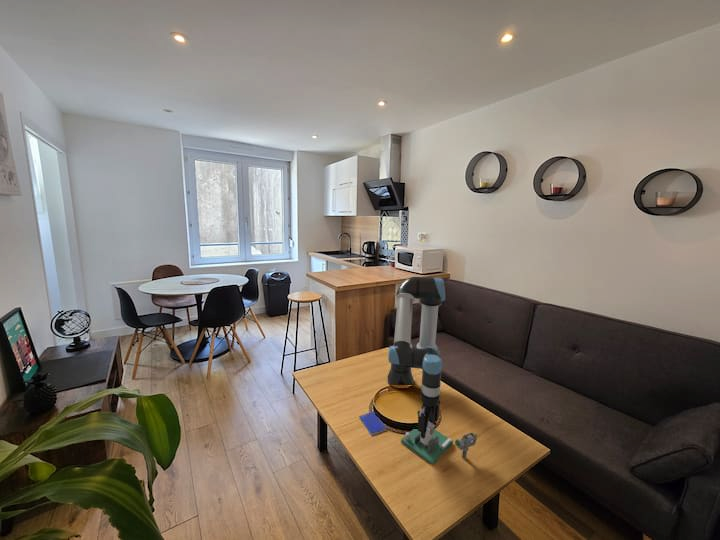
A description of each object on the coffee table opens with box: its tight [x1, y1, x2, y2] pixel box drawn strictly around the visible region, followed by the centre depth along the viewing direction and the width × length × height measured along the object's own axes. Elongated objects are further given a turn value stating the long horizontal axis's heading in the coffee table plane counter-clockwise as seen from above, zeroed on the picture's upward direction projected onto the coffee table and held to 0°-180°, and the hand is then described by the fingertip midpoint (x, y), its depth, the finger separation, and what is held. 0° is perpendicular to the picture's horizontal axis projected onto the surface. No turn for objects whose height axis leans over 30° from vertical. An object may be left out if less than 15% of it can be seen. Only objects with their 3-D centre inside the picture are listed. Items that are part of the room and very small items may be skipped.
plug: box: [420, 420, 435, 445], centre depth 129 cm, size 4×5×8 cm
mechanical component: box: [454, 432, 478, 460], centre depth 124 cm, size 3×10×10 cm, turn 113°
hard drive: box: [358, 411, 387, 436], centre depth 144 cm, size 2×8×12 cm
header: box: [415, 433, 439, 454], centre depth 130 cm, size 7×7×4 cm
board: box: [400, 428, 454, 466], centre depth 132 cm, size 16×16×4 cm
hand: (426, 439), depth 130 cm, fingers closed on plug, 4 cm apart
